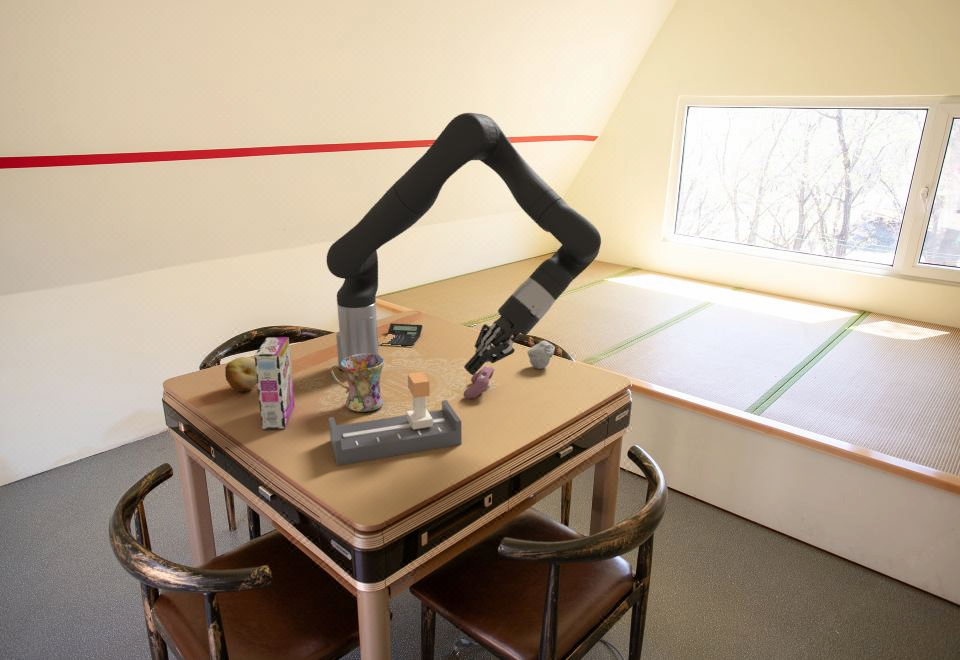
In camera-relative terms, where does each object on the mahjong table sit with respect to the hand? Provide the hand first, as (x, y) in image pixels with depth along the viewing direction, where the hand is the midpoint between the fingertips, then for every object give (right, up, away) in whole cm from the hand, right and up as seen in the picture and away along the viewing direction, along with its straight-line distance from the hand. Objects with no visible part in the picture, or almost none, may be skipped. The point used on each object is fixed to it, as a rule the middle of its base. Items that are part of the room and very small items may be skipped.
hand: (468, 371), depth 129 cm
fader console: (-14, -14, -1) cm, 20 cm away
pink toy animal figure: (+2, -6, +22) cm, 23 cm away
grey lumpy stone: (+18, -2, +35) cm, 40 cm away
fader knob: (-10, -10, 0) cm, 14 cm away
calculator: (-20, +5, +56) cm, 60 cm away
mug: (-24, -9, +15) cm, 30 cm away
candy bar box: (-40, -11, +10) cm, 43 cm away
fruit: (-52, -6, +23) cm, 57 cm away
